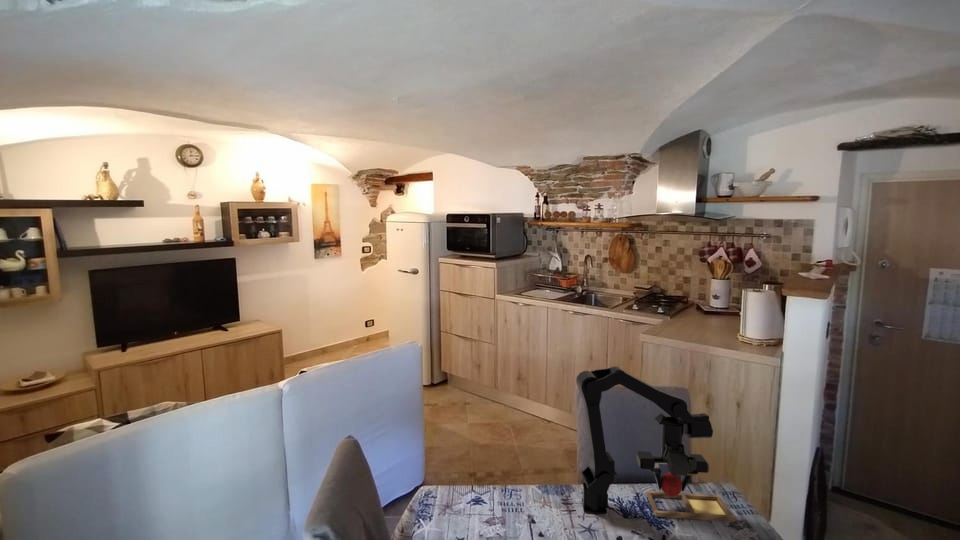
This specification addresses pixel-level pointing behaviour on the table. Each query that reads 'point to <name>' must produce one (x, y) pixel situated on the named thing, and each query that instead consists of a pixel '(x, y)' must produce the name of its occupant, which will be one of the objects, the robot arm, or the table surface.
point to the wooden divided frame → (694, 507)
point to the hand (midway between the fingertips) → (670, 490)
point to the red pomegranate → (671, 484)
